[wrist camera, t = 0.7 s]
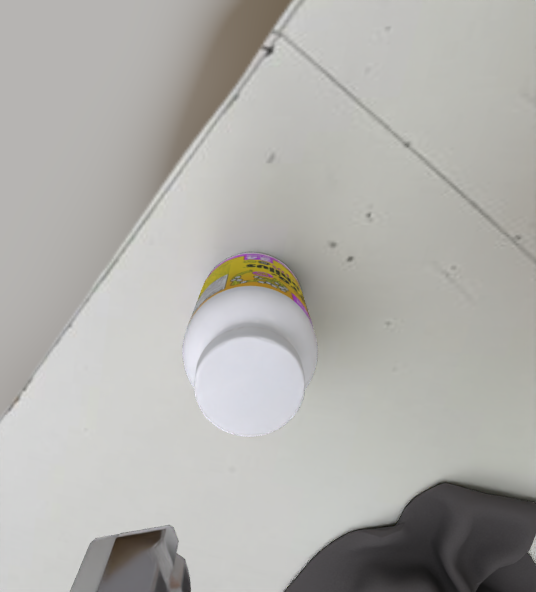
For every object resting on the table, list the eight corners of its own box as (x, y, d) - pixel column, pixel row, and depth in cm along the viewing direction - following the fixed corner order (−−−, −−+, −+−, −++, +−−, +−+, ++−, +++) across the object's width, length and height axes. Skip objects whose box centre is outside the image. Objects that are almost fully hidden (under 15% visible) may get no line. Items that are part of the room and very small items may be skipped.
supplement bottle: (321, 296, 32) (363, 387, 20) (253, 362, 34) (254, 485, 21) (249, 227, 31) (247, 280, 19) (180, 299, 32) (136, 392, 20)
